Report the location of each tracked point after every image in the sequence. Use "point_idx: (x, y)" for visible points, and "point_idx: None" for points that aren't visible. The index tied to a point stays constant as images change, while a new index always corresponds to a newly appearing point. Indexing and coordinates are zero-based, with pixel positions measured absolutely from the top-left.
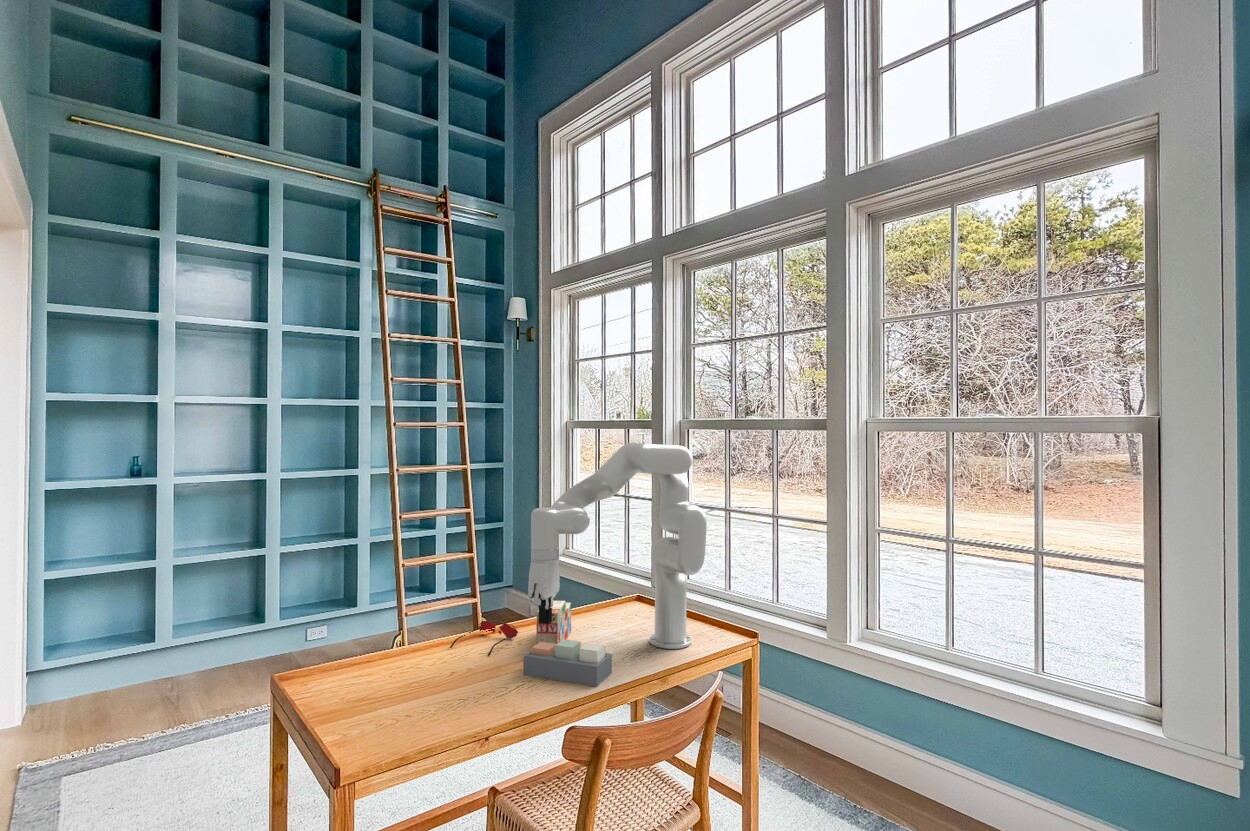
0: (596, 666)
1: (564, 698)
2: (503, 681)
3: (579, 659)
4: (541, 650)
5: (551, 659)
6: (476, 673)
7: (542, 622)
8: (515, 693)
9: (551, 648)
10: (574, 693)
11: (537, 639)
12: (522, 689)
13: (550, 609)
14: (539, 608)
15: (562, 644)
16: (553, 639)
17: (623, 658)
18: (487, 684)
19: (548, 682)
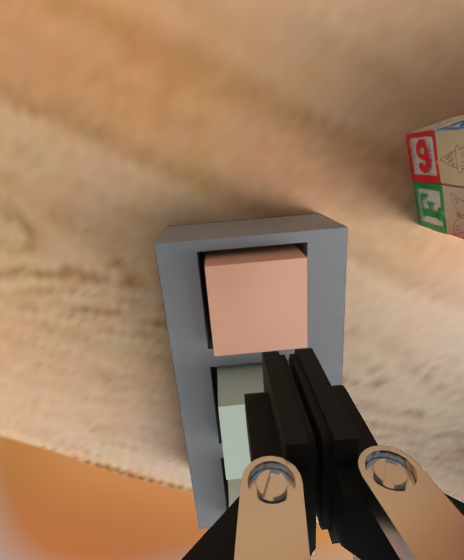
0: (200, 526)
1: (80, 438)
2: (69, 193)
3: None
4: (210, 318)
5: (180, 376)
6: (65, 8)
7: (264, 383)
8: (12, 299)
9: (248, 351)
10: (126, 443)
11: (449, 134)
12: (54, 300)
13: (326, 525)
14: (249, 482)
15: (242, 429)
16: (462, 220)
17: (444, 435)
18: (4, 150)
19: (155, 342)
